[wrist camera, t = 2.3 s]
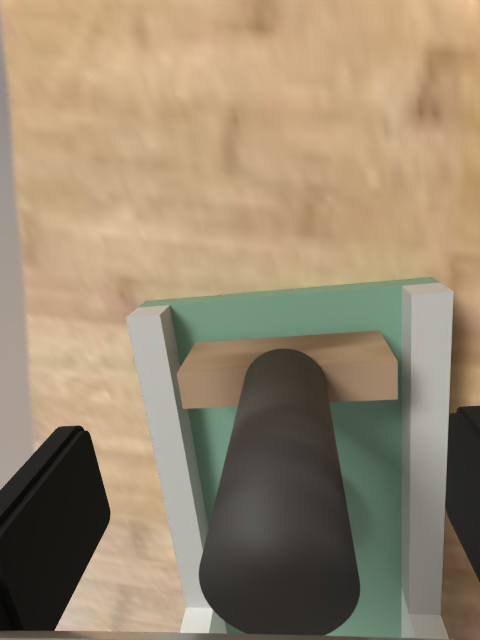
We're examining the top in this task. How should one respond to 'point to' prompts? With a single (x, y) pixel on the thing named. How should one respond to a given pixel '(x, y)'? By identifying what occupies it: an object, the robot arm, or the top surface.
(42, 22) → the top surface
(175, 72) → the top surface
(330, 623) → the striker
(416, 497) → the pitch
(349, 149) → the top surface
